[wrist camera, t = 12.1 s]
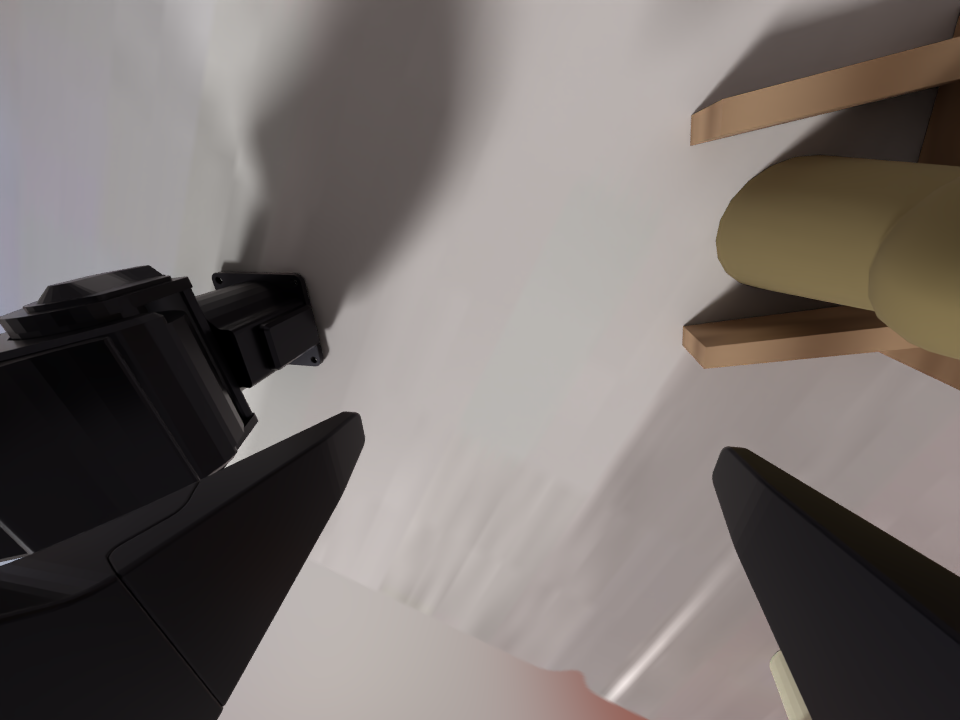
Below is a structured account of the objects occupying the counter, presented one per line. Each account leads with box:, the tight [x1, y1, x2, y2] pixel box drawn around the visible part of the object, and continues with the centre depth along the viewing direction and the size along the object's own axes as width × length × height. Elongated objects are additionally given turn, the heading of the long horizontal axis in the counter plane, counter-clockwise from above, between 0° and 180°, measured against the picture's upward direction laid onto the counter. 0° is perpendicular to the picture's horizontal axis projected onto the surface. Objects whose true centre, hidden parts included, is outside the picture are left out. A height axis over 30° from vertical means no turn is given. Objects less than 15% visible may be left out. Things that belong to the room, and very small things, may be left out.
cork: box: [716, 155, 960, 360], centre depth 12 cm, size 6×6×11 cm
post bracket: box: [682, 14, 960, 390], centre depth 12 cm, size 11×14×9 cm
